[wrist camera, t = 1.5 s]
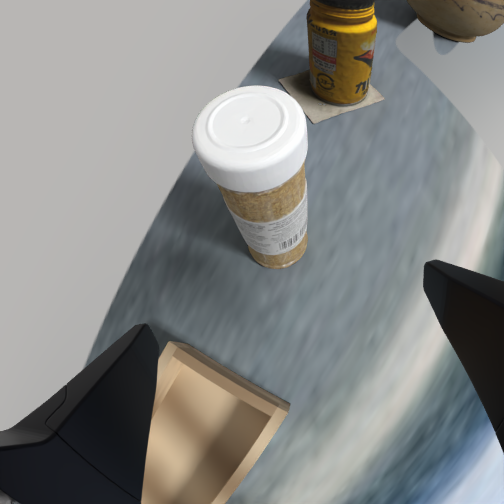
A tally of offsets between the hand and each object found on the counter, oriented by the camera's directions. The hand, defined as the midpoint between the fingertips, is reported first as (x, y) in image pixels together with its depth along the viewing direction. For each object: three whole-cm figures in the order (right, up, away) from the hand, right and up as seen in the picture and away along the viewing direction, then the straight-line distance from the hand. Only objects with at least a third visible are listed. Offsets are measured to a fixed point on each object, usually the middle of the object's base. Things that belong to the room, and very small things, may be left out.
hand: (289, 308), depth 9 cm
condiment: (+7, +18, +19) cm, 27 cm away
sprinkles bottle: (+1, +2, +15) cm, 15 cm away
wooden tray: (-8, -18, +9) cm, 22 cm away
